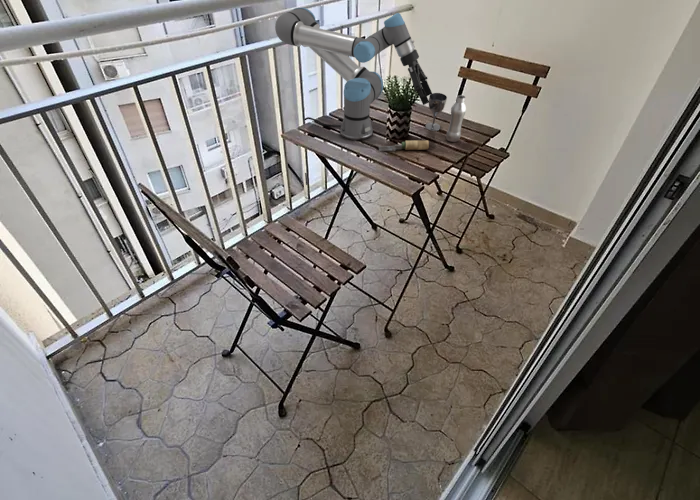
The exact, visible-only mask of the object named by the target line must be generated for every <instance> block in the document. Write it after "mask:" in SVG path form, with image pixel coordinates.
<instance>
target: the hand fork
mask: <svg viewBox="0 0 700 500" xmlns="http://www.w3.org/2000/svg"><path fill="white" fill-rule="evenodd" d="M429 148H430V142H429V140H428V139H427V140H425V139H424V140H419V139H418V140H417V139H416V140H405V141H402V142H401V144H400V143H399V144H398V143H397V144H393V145H384V146H383V145H381V146H380V145H379V146H378V152H396V150H403V149H404V150H405V151H429Z"/></svg>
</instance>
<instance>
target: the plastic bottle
mask: <svg viewBox="0 0 700 500" xmlns="http://www.w3.org/2000/svg"><path fill="white" fill-rule="evenodd" d="M465 102H466V96H465V95H463V94H462V95H461V94H460V95H457V96H456V97H455V102H454V103H453V104H452V106H451V108H450V121H449V125H448V127H447V131H446V133H445V138H446V140H447V141H448V142H450V143H455V142H458V141H459V140H460V138H461V136H462V125H463V121H464V118H465V115H466V112H467V105H466V104H465Z"/></svg>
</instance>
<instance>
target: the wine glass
mask: <svg viewBox="0 0 700 500" xmlns="http://www.w3.org/2000/svg"><path fill="white" fill-rule="evenodd" d="M447 99H448V97H447V95H446V94H444V93H441V92H432V94H430V95H428V100H429V103H428V109H429V111H430V112H431V114H432V115H433V118H432V122H427V123H426V124H425V128H426V129H427V130H429V131H439V130H440V129H441V125H440V124H439V123H436V118H437V117H438V115H439V114H440V113H441V112H443V111H444V109H445V107H446V104H447Z"/></svg>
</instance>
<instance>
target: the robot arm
mask: <svg viewBox="0 0 700 500" xmlns="http://www.w3.org/2000/svg"><path fill="white" fill-rule="evenodd" d="M383 25H384V26H383V27H382V28H381V29H378V30H377V31H375V32H374V33H372V34H369V36H367V37H366V38H363V37H359V36H355V35H350V34H345V33H341V32H337V31H333V30H328V29H323V28H320V24H319V23H318V22H317V20H316V16H315V15H314V13H313V12H312V11H311V10H310V9H309V8H306V7H295V8H293V9H292V10H290V11H287V12H284V13H281V14H280V15H279V16H278V17H277V19H276V21H275V24H274V29H275V34H276V36H277V38H278V40H280V41H281V42H282V43H284V44H287V45H290V46H292V47H301V46H302V47H304V48H309V49H310V50H312V51H313V52H314V53H315V54H316V55H317V56H318V57H319V58H321V59H322V60H323V61H324V62H325V63H326V64H327V65H328V66H329V67H330V68H331V69H332V70H334V71H335V72H336V73H337V74H338V75H339V76H340V78H342V79H343V80H344V81H346V82H345V83H344V87H343V88H344V89H343V119H342V122H341V124H330V123H329V124H328V123H324V122H321V121H319V120H318V119H315V118H313V117H310V116H307V117H305V118H304V119H303V120H304V121H307V120H310V121H313V122H316V123H318V124H319V125H321V126H324V127H331V128H340V130H339V131H340V136H341V137H342V138H344V139H346V140H350V141H364V140H367V139H370V138H371V137H372V136H373V133H374V129H373V125H372V122H371V118H370V114H371V105H372V104H373V103H374V102H375V101H376V100H377V99H378V98H379V97H380V96H381V95H382V93H383V90H384V81H383V78H382V76H381V74H379V73H378V72H377V71H370V70H369V69H368V68H367V67H365V66H359V65H358V64H357V63H356V62H355V61H354V60H353V59H352V58H354V59H355V60H357V62H359V63H362V64H365V63H367V62H370V61H371V60H373V58H374V57H376V56H377V55H379V54H380V53H381V52H382V51H384V50H385V49H388V48H389V47H392V45H393V47H394V49H395V51H396V53H397V56H398V57H399V58H400V62H401V64H402V66H403V67H407V66H408V68H407V71H408V73H409V76H410V80H411V82H412V85H413V88H414V93H417V94H418V97H419V99H420V101H421V103H422V106H425V105H427V104H429V96H430V95H431V94H433V91H432V90H431V87H430V84H429V82H428V76H427V75H426V74H425V72H424V71H423V69H422V67H421V65H420V63H419V61H418V59H420V58H419V57H420V55H419V53H418V50H417V49H416V46H415V44H414V43H415V40H414V39H412V36H411V34H410V32H409V30H408V27H407V25H406V21H405V20H404V18H403V16H402V14H401V13H400V12H396V13H394V14H393V15H391V16H390V17H389V18H387V19H385V20H384V21H383ZM304 177H305V186H308V174H307V172H304Z"/></svg>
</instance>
